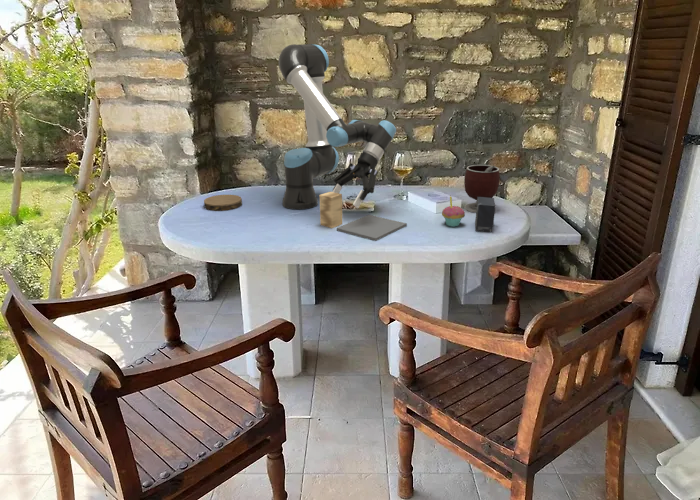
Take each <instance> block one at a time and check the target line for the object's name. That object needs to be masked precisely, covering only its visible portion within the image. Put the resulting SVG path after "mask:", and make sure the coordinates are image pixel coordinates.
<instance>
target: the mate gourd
mask: <svg viewBox="0 0 700 500" xmlns="http://www.w3.org/2000/svg"><path fill="white" fill-rule="evenodd" d="M464 174H465V175H464V181H463V183H464V191H465V193H466V195H467V196H468V197H469V198H471V199H473V200H475V202H472V203H467V204H465V205H464V211H467V212H470V213H475V214H476V210H477V198H478V197H487V198H494V197H495V195H496V194H497V192H498V190H499V186H500V180H501V179H500V167H497V166H495V165H488V164H473V165H469V166H467V167H466V170H465V173H464Z"/></svg>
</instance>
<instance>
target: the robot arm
mask: <svg viewBox="0 0 700 500" xmlns="http://www.w3.org/2000/svg"><path fill="white" fill-rule="evenodd" d="M329 59H330V58H329V55H328V53H327V51H326V50H325V49H324V47H322V45H318V44H315V43H314V44H313V43H308V44H307V43H305V44H303V43H302V44H289V45H287V46H285V47H284V48H283V49H282V50H281V52H280V53H279V57H278V68H279V70H280V73H281V75H282V77H283V79H284V81H286V83H287V84H288V85H292V86H293V88H294V89H295V90H296V92H297V93H298V94H299V95H300V97H301V99H302V100H303V105H304V107H303V108H304V115H305V117H304V118H305V123H306V124H305V125H306V132H307V138H308V140H307V143H306V144H305V147H300V148H299V147H298V148H294V149H293V148H292V149H291V150H288V151H287V152H286V153H285V154H284V157H283V158H284V161H283V165H284V175H285V190H284V195H283V198H282V206H283V207H284V208H286V209H290V210H307V209H312V208H315V207H317V206H318V205H319V199H318V196H317V194H316V190H315V187H314V178H316V177H320V176H325V175H328V174H330V173H332V172H334V171H335V170H336V169H337V167H338V165H339V162H340V154H339V152H338V151H337V149H336V148H337V147H338V148H339V147H344V146H347V145H350V144H351V145H352V144H356V143H360V142H364V143H366V144H365V147H364V148H363V150H362V152H361V153H360V155H359V157H358V158H357V164H353V163H352V162H351V163H350V164H349V165H348V166H347V167H346V168H345V169H344V170H343V171H342V172H341V173H339V175H337V177H336V178H334V179H333V182H334V183H335V185H334V187H333V189H332V191H331V192H334V193H339V194H340V193H341V192H342V189H343V186H344V185H346V184H347V183H349V182H350V181H352V180H353V179H361V180H362V189H360V191H359V193H358V194H357V197H356V198H355V199H354V201H353V203H352V205H353V206H354V207H355V208H356V209H359V208H360V206H361V204H362V203H363V201H365V199H366V197H367V196H368V195H369V194H374V192H375V187H376V179H377V175H378V174H379V172H378V170H377V169H376V167H377V166H378V163H379V162H380V160H381V158H382V157H383V155H384V154H385V152H386V150H387V149H388V147H389V146H390V144H391V143H392V141H393V138H394V137H395V135H396V133H397V128H396V126H395V125H394V123H392V122H391V121H389V120H384V119H383V120H381V121H379V122H378V124H373V123H369V122H367V121H363V120H360V119H359V120H357V119H352V120H351V121H350V122H348V123H346V122H345V121H344V119H343V118H342V117H341V116H340V114H339V113H338V112H337V111H336V108H334V107H333V105H332V103H331V102H330V101H329V100H328V98H327V97H326V96H325V94H324V88H323V81H324V79H325V78H326V74H325V72H327V70H328V68H329V65H330V60H329ZM335 147H336V148H335Z"/></svg>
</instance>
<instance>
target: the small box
mask: <svg viewBox="0 0 700 500" xmlns="http://www.w3.org/2000/svg"><path fill="white" fill-rule="evenodd" d="M476 201H477V210H476V213H475V221H474V229H475V232H482V233H483V232H484V233H486V232H487V233H492V232H493V229H494V224H495V223H494V222H495V213H496V204H495V203H496V201H495V197H492V198H487V197H478V198H477V200H476Z"/></svg>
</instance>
